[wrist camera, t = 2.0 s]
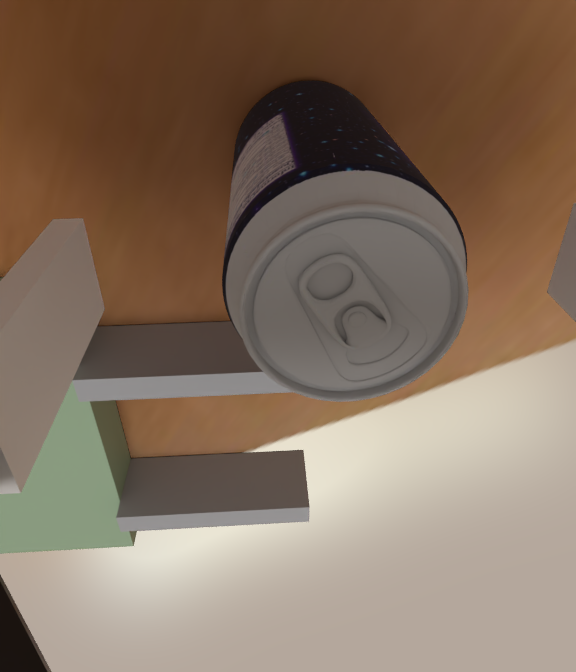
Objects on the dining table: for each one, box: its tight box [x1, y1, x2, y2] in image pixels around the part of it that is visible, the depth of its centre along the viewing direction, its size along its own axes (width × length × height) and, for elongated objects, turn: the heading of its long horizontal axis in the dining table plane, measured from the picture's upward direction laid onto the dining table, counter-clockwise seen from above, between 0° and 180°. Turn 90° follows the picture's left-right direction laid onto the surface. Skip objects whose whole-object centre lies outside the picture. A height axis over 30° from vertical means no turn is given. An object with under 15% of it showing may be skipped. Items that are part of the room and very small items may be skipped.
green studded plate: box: [0, 277, 309, 554], centre depth 26 cm, size 16×22×4 cm
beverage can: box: [222, 81, 468, 402], centre depth 16 cm, size 6×6×12 cm
